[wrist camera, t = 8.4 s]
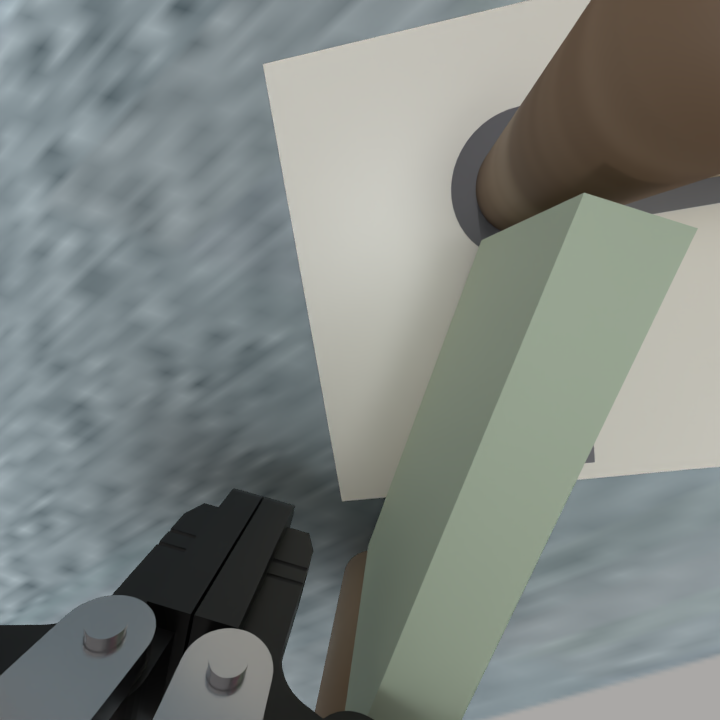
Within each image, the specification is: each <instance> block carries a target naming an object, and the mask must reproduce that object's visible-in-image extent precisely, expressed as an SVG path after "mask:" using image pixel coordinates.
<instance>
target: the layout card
mask: <svg viewBox="0 0 720 720" xmlns="http://www.w3.org/2000/svg"><path fill="white" fill-rule="evenodd" d="M590 1H591V0H528V1H524V2H520V3H516V4H511V5H507V6H503V7H499V8H495V9H491V10H487V11H482V12H478V13H474V14H470V15H466V16H462V17H457V18H453V19H449V20H445V21H441V22H437V23H432V24H428V25H424V26H420V27H416V28H412V29H407V30H403V31H399V32H395V33H391V34H387V35H382V36H378V37H374V38H370V39H366V40H362V41H357V42H353V43H349V44H345V45H341V46H337V47H332V48H328V49H324V50H320V51H316V52H312V53H307V54H303V55H299V56H295V57H291V58H287V59H283V60H278V61H274V62H270V63H266V64H263V68H264V73H265V79H266V84H267V90H268V95H269V101H270V106H271V112H272V117H273V123H274V128H275V134H276V139H277V145H278V150H279V156H280V161H281V167H282V173H283V178H284V184H285V189H286V195H287V200H288V206H289V211H290V217H291V222H292V228H293V233H294V239H295V244H296V250H297V255H298V261H299V266H300V272H301V277H302V283H303V289H304V294H305V300H306V305H307V311H308V316H309V322H310V327H311V333H312V338H313V344H314V349H315V355H316V360H317V366H318V371H319V377H320V382H321V388H322V394H323V399H324V405H325V410H326V416H327V421H328V427H329V432H330V438H331V443H332V449H333V454H334V460H335V465H336V471H337V476H338V482H339V487H340V493H341V499H342V501H352V500H363V499H374V498H384V497H386V496H387V493H388V491H389V488H390V485H391V483H392V480H393V477H394V475H395V472H396V469H397V467H398V464H399V461H400V458H401V456H402V453H403V450H404V448H405V445H406V442H407V440H408V437H409V434H410V431H411V429H412V426H413V423H414V421H415V418H416V415H417V413H418V410H419V407H420V405H421V402H422V399H423V396H424V394H425V391H426V388H427V386H428V383H429V380H430V378H431V375H432V372H433V369H434V367H435V364H436V361H437V359H438V356H439V353H440V351H441V348H442V345H443V342H444V340H445V337H446V334H447V332H448V329H449V326H450V324H451V321H452V318H453V316H454V313H455V310H456V307H457V305H458V302H459V299H460V297H461V294H462V291H463V289H464V286H465V283H466V280H467V278H468V275H469V272H470V270H471V267H472V264H473V262H474V259H475V256H476V253H477V251H478V248H479V245H480V243H481V240H483V239H485V238H487V237H489V236H492V235H494V234H496V233H498V232H500V231H501V230H499V229H497V228H495V227H494V226H493V225H492V224H490V223H489V222H488V221H487V219H486V218H485V217H484V215H483V214H482V212H481V210H480V208H479V205H478V202H477V197H476V180H477V175H478V172H479V169H480V166H481V164H482V162H483V160H484V159H485V157H486V156H487V154H488V153H489V151H490V150H491V148H492V147H493V145H494V144H495V142H496V141H497V139H498V138H499V136H500V135H501V133H502V132H503V130H504V129H505V127H506V126H507V124H508V123H509V122H510V120H511V119H512V117H513V116H514V114H515V113H516V111H517V110H518V108H519V107H520V105H521V104H522V102H523V101H524V99H525V98H526V96H527V95H528V93H529V92H530V90H531V89H532V87H533V86H534V84H535V83H536V81H537V80H538V78H539V77H540V75H541V74H542V72H543V71H544V69H545V68H546V66H547V65H548V63H549V62H550V60H551V59H552V57H553V56H554V54H555V53H556V51H557V50H558V48H559V47H560V45H561V44H562V43H563V41H564V40H565V38H566V37H567V35H568V34H569V32H570V31H571V29H572V28H573V26H574V25H575V23H576V22H577V20H578V19H579V17H580V16H581V14H582V13H583V11H584V10H585V8H586V7H587V5H588V4H589V2H590ZM625 206H628V207H631V208H635V209H638V210H641V211H644V212H647V213H650V214H654V215H657V216H660V217H663V218H666V219H670V220H673V221H676V222H679V223H682V224H685V225H689V226H692V227H695V228H698V229H697V231H696V233H695V235H694V237H693V239H692V241H691V243H690V246H689V248H688V250H687V252H686V254H685V256H684V258H683V260H682V262H681V264H680V266H679V268H678V270H677V273H676V275H675V277H674V279H673V281H672V283H671V285H670V287H669V289H668V291H667V293H666V295H665V298H664V300H663V302H662V304H661V306H660V308H659V310H658V312H657V314H656V316H655V318H654V320H653V322H652V325H651V327H650V329H649V331H648V333H647V335H646V337H645V339H644V341H643V343H642V345H641V347H640V350H639V352H638V354H637V356H636V358H635V360H634V362H633V364H632V366H631V368H630V370H629V372H628V375H627V377H626V379H625V381H624V383H623V385H622V387H621V389H620V391H619V393H618V395H617V397H616V399H615V402H614V404H613V406H612V408H611V410H610V412H609V414H608V416H607V418H606V420H605V422H604V424H603V427H602V429H601V431H600V433H599V435H598V437H597V439H596V441H595V443H594V445H593V447H592V449H591V452H590V454H589V456H588V458H587V460H586V462H585V464H584V466H583V468H582V470H581V472H580V474H579V476H578V479H577V480H580V479H591V478H602V477H613V476H623V475H634V474H645V473H656V472H667V471H678V470H689V469H699V468H710V467H720V176H718V177H712V178H707V179H704V180H701V181H697V182H694V183H691V184H688V185H685V186H682V187H679V188H676V189H673V190H669V191H666V192H663V193H660V194H657V195H654V196H651V197H648V198H644V199H641V200H638V201H635V202H632V203H629V204H626V205H625Z"/></svg>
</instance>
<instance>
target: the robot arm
mask: <svg viewBox="0 0 720 720" xmlns="http://www.w3.org/2000/svg"><path fill="white" fill-rule="evenodd" d="M294 508H295V506H294V505H291V504H287V503H284V502H280V501H277V500H273V499H270V498H266V497H265V498H264V497H263V496H259V495H256V494H252V493H249V492H245V491H242V490H238V489H233V490H232V491H231V492H230V493H229V495H228V496H227V497H226V499H225V500H224V501H223V502H222V504H221V505H220V506H219V507H215V506H212V505H208V504H205V503H204V504H202V505H200V506H198V507H196V508H194V509H192V510H190V511H188V512H186V513H185V514H184V515H183V516H182V517H181V518H180V519H179V520H178V521H177V523H176V524H175V525H174V526H173V527H172V528H171V531H170V532H168V533H167V534H166V535H165V536H164V537H163V538H162V539H161V541H160V543H159V545H156V546H155V547H154V548H153V550H152V551H151V552H150V553H149V554H148V555H147V556H146V557H145V559H144V560H143V561H142V562H141V563H140V564H139V565H138V566H137V568H136V569H135V570H134V571H133V572H132V573H131V574H130V575H129V577H128V578H127V579H126V580H125V581H124V582H123V583H122V584H121V586H120V587H119V588H118V589H117V590H116V591H115V592H114V593H113V595H111V596H104V597H100V598H96V599H93V600H91V601H88V602H86V603H84V604H82V605H80V606H78V607H77V608H75V609H73V610H72V611H71V612H70V613H68V614H67V615H66V616H65V617H64V618H63V619H61V620H60V621H59V622H58V623H56V624H48V625H0V720H374V719H372V718H370V717H369V716H366V715H364V714H362V713H358V712H354V711H340V712H336V713H333V714H330V715H328V716H327V717H325V718H322V717H320V716H319V715H318V714H316V713H315V712H314V711H312V710H311V709H310V708H308V707H307V706H306V705H305V704H303V703H302V702H301V701H300V700H299V699H298V698H297V697H296V696H295V695H294V693H293V692H292V691H291V689H290V688H289V686H288V684H287V682H286V680H285V677H284V674H283V670H282V659H283V655H284V652H285V649H286V645H287V642H288V639H289V636H290V632H291V629H292V626H293V622H294V619H295V616H296V613H297V609H298V606H299V602H300V598H301V595H302V591H303V587H304V584H305V580H306V576H307V572H308V569H309V565H310V561H311V557H312V554H313V548H312V544H311V539H310V535H309V533H305V532H302V531H299V530H295V529H292V528H290V525H291V521H292V517H293V513H294Z"/></svg>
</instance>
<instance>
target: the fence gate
mask: <svg viewBox="0 0 720 720" xmlns="http://www.w3.org/2000/svg"><path fill="white" fill-rule="evenodd" d="M697 229H698V228H695V227H692V226H689V225H685V224H682V223H679V222H676V221H673V220H670V219H666V218H663V217H660V216H657V215H654V214H650V213H647V212H644V211H641V210H638V209H635V208H631V207H628V206H625V205H622V204H619V203H616V202H612V201H609V200H606V199H603V198H600V197H596V196H593V195H590V194H587V193H582V194H580V195H578V196H576V197H574V198H572V199H569V200H567V201H565V202H563V203H561V204H559V205H556V206H554V207H552V208H550V209H548V210H546V211H543V212H541V213H539V214H537V215H535V216H533V217H530V218H528V219H526V220H524V221H522V222H520V223H517V224H515V225H513V226H511V227H509V228H507V229H505V230H502V231H500V232H498V233H496V234H494V235H492V236H489V237H487V238H485V239H483V240H481V243H480V245H479V248H478V251H477V253H476V256H475V259H474V262H473V264H472V267H471V270H470V272H469V275H468V278H467V280H466V283H465V286H464V289H463V291H462V294H461V297H460V299H459V302H458V305H457V307H456V310H455V313H454V316H453V318H452V321H451V324H450V326H449V329H448V332H447V334H446V337H445V340H444V342H443V345H442V348H441V351H440V353H439V356H438V359H437V361H436V364H435V367H434V369H433V372H432V375H431V378H430V380H429V383H428V386H427V388H426V391H425V394H424V396H423V399H422V402H421V405H420V407H419V410H418V413H417V415H416V418H415V421H414V423H413V426H412V429H411V431H410V434H409V437H408V440H407V442H406V445H405V448H404V450H403V453H402V456H401V458H400V461H399V464H398V467H397V469H396V472H395V475H394V477H393V480H392V483H391V485H390V488H389V491H388V493H387V496H386V499H385V502H384V504H383V507H382V510H381V512H380V515H379V518H378V520H377V523H376V526H375V529H374V531H373V534H372V537H371V539H370V542H369V545H368V551H364V552H361V553H359V554H357V555H356V556H354V557H353V558H352V559H351V560H350V561H349V562H348V564H347V566H346V568H345V571H344V576H343V580H342V585H341V590H340V595H339V599H338V604H337V609H336V614H335V619H334V623H333V628H332V633H331V638H330V642H329V647H328V652H327V657H326V661H325V666H324V671H323V676H322V680H321V685H320V690H319V695H318V699H317V704H316V709H315V713H316V714H318V715H319V716H320V717H322V718H325V717H327V716H328V715H330V714H333V713H336V712H340V711H354V712H358V713H362V714H364V715H366V716H369V717H370V718H372V719H374V720H462V718H463V716H464V714H465V712H466V710H467V707H468V705H469V703H470V701H471V699H472V697H473V695H474V693H475V691H476V689H477V687H478V685H479V682H480V680H481V678H482V676H483V674H484V672H485V670H486V668H487V666H488V664H489V662H490V660H491V658H492V655H493V653H494V651H495V649H496V647H497V645H498V643H499V641H500V639H501V637H502V635H503V633H504V630H505V628H506V626H507V624H508V622H509V620H510V618H511V616H512V614H513V612H514V610H515V608H516V605H517V603H518V601H519V599H520V597H521V595H522V593H523V591H524V589H525V587H526V585H527V583H528V581H529V578H530V576H531V574H532V572H533V570H534V568H535V566H536V564H537V562H538V560H539V558H540V556H541V553H542V551H543V549H544V547H545V545H546V543H547V541H548V539H549V537H550V535H551V533H552V531H553V528H554V526H555V524H556V522H557V520H558V518H559V516H560V514H561V512H562V510H563V508H564V506H565V504H566V501H567V499H568V497H569V495H570V493H571V491H572V489H573V487H574V485H575V483H576V481H577V479H578V476H579V474H580V472H581V470H582V468H583V466H584V464H585V462H586V460H587V458H588V456H589V454H590V452H591V449H592V447H593V445H594V443H595V441H596V439H597V437H598V435H599V433H600V431H601V429H602V427H603V424H604V422H605V420H606V418H607V416H608V414H609V412H610V410H611V408H612V406H613V404H614V402H615V399H616V397H617V395H618V393H619V391H620V389H621V387H622V385H623V383H624V381H625V379H626V377H627V375H628V372H629V370H630V368H631V366H632V364H633V362H634V360H635V358H636V356H637V354H638V352H639V350H640V347H641V345H642V343H643V341H644V339H645V337H646V335H647V333H648V331H649V329H650V327H651V325H652V322H653V320H654V318H655V316H656V314H657V312H658V310H659V308H660V306H661V304H662V302H663V300H664V298H665V295H666V293H667V291H668V289H669V287H670V285H671V283H672V281H673V279H674V277H675V275H676V273H677V270H678V268H679V266H680V264H681V262H682V260H683V258H684V256H685V254H686V252H687V250H688V248H689V246H690V243H691V241H692V239H693V237H694V235H695V233H696V231H697Z"/></svg>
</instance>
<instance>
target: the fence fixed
mask: <svg viewBox="0 0 720 720" xmlns="http://www.w3.org/2000/svg"><path fill="white" fill-rule="evenodd" d="M718 176H720V0H591V1H590V2H589V4H588V5H587V7H586V8H585V10H584V11H583V13H582V14H581V16H580V17H579V19H578V20H577V22H576V23H575V25H574V26H573V28H572V29H571V31H570V32H569V34H568V35H567V37H566V38H565V40H564V41H563V43H562V44H561V45H560V47H559V48H558V50H557V51H556V53H555V54H554V56H553V57H552V59H551V60H550V62H549V63H548V65H547V66H546V68H545V69H544V71H543V72H542V74H541V75H540V77H539V78H538V80H537V81H536V83H535V84H534V86H533V87H532V89H531V90H530V92H529V93H528V95H527V96H526V98H525V99H524V101H523V102H522V104H521V105H520V107H519V108H518V110H517V111H516V113H515V114H514V116H513V117H512V119H511V120H510V122H509V123H508V124H507V126H506V127H505V129H504V130H503V132H502V133H501V135H500V136H499V138H498V139H497V141H496V142H495V144H494V145H493V147H492V148H491V150H490V151H489V153H488V154H487V156H486V157H485V159H484V160H483V162H482V164H481V166H480V169H479V172H478V175H477V180H476V197H477V202H478V205H479V208H480V210H481V212H482V214H483V215H484V217H485V218H486V219H487V221H488V222H489V223H490V224H492V225H493V226H494V227H495V228H497V229H499V230H501V231H502V230H505V229H507V228H509V227H511V226H513V225H515V224H517V223H520V222H522V221H524V220H526V219H528V218H530V217H533V216H535V215H537V214H539V213H541V212H543V211H546V210H548V209H550V208H552V207H554V206H556V205H559V204H561V203H563V202H565V201H567V200H569V199H572V198H574V197H576V196H578V195H580V194H582V193H587V194H590V195H593V196H596V197H600V198H603V199H606V200H609V201H612V202H616V203H619V204H622V205H626V204H629V203H632V202H635V201H638V200H641V199H644V198H648V197H651V196H654V195H657V194H660V193H663V192H666V191H669V190H673V189H676V188H679V187H682V186H685V185H688V184H691V183H694V182H697V181H701V180H704V179H707V178H712V177H718Z"/></svg>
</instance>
